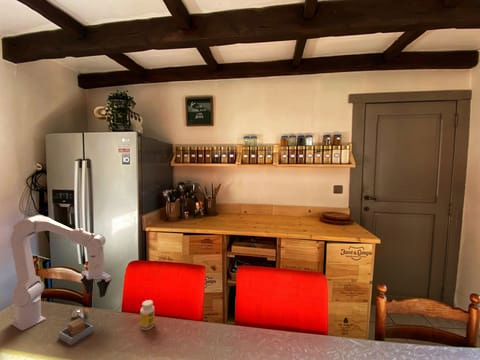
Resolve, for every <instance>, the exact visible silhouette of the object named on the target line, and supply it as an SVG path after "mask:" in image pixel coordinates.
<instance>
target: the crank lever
mask: <svg viewBox="0 0 480 360" xmlns="http://www.w3.org/2000/svg"><path fill="white" fill-rule="evenodd" d="M71 316H72V319H78V318H80V319H82V320H83V321H85V322H86V321H87V320H89V319H90V309H88V308H87V307H84V308H83V307H79V308H75V309H74V310H72V313H71Z"/></svg>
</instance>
